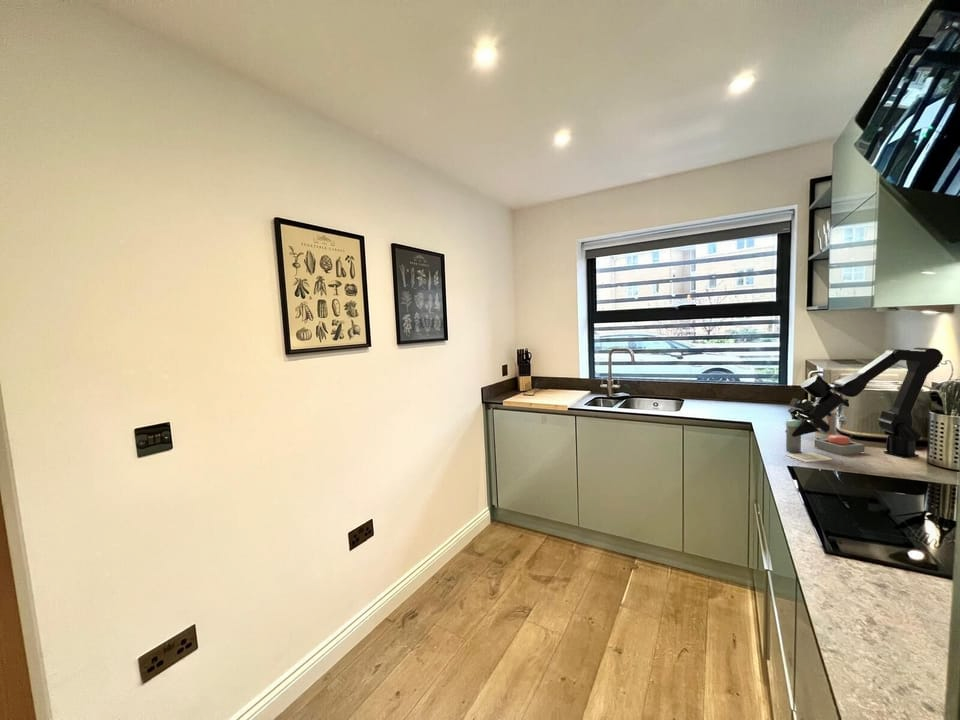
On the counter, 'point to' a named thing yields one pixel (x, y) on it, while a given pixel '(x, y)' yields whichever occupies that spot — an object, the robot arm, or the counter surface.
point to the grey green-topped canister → (792, 442)
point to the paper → (809, 457)
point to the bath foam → (832, 423)
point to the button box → (839, 447)
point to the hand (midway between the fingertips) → (789, 434)
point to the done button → (839, 440)
